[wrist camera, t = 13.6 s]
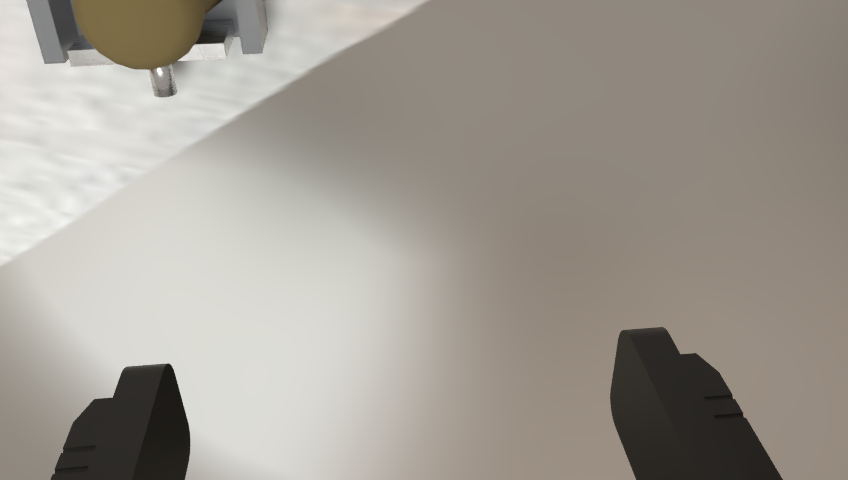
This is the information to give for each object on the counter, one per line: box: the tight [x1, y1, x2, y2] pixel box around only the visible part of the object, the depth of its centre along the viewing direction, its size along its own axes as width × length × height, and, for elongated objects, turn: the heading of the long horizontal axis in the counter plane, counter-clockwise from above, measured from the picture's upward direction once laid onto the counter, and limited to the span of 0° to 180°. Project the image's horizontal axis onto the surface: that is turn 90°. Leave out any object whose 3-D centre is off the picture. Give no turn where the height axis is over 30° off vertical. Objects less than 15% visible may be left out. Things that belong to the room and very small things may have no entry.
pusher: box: [67, 20, 234, 97], centre depth 41 cm, size 8×3×4 cm, turn 91°
